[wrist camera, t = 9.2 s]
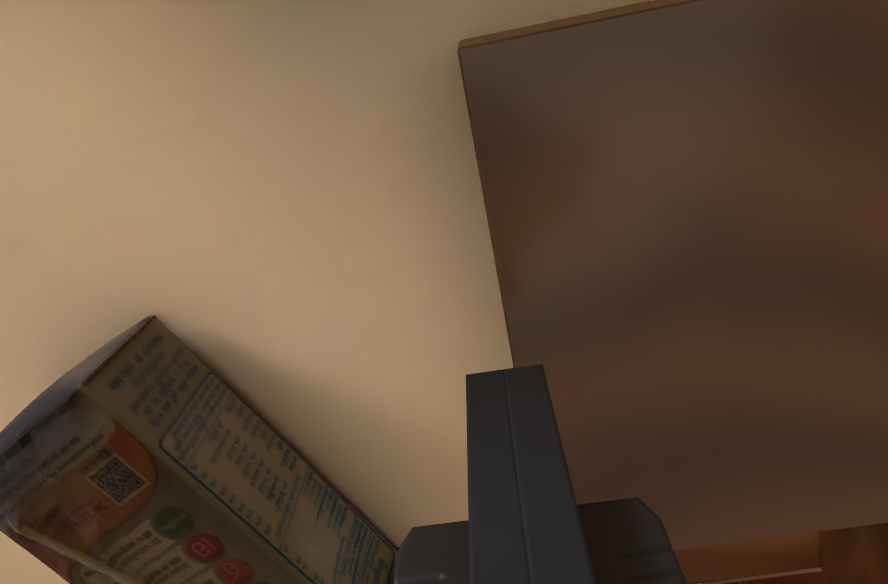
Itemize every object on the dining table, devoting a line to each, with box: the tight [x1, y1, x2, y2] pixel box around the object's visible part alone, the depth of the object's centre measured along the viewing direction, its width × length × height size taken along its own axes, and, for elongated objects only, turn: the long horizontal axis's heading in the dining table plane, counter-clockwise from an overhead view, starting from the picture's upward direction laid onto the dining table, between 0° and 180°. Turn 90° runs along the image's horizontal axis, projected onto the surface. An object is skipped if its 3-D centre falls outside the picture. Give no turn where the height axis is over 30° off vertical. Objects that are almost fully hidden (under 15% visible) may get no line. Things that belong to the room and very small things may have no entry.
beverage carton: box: [0, 315, 398, 584], centre depth 29 cm, size 8×19×7 cm, turn 39°
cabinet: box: [458, 0, 888, 551], centre depth 22 cm, size 16×14×9 cm
